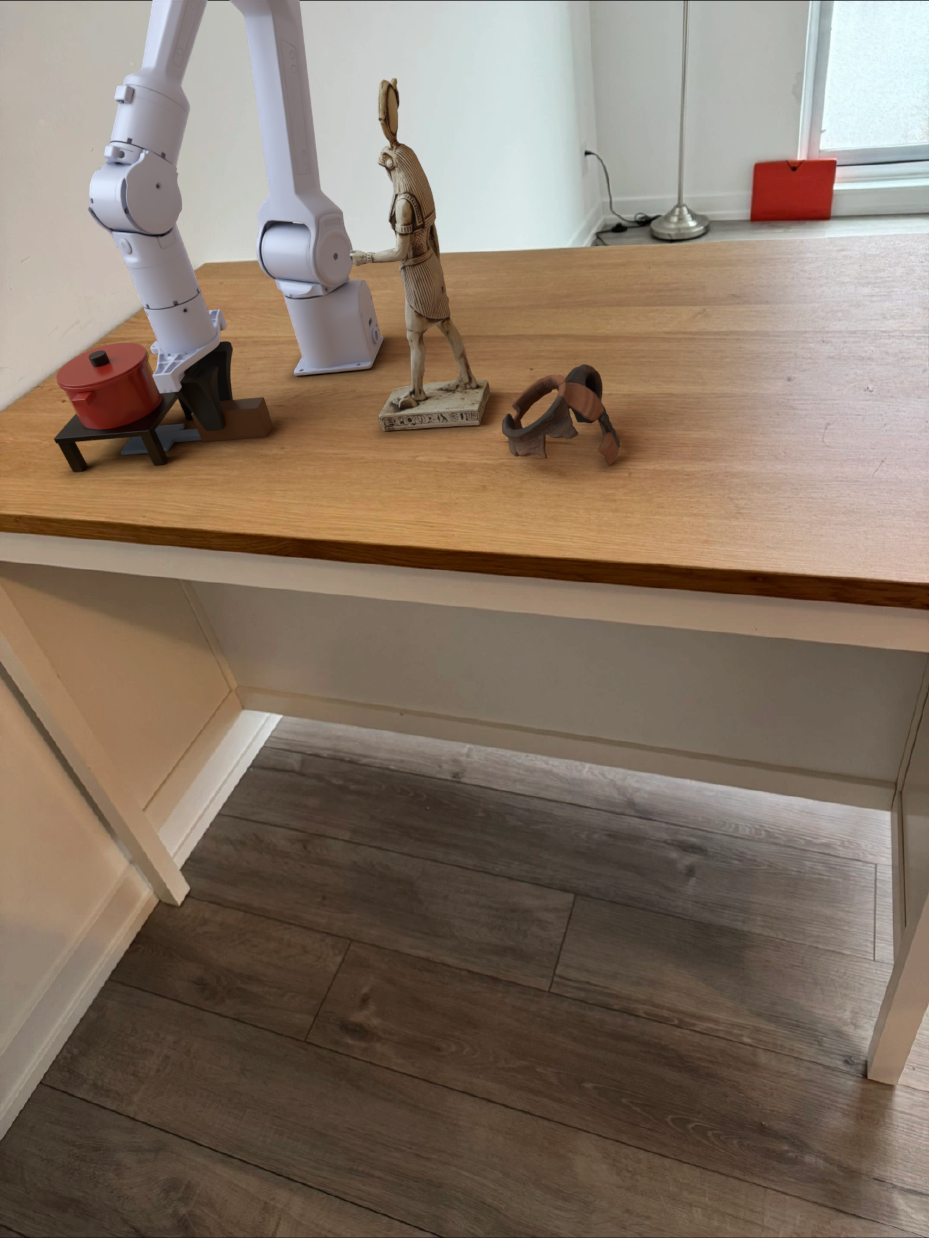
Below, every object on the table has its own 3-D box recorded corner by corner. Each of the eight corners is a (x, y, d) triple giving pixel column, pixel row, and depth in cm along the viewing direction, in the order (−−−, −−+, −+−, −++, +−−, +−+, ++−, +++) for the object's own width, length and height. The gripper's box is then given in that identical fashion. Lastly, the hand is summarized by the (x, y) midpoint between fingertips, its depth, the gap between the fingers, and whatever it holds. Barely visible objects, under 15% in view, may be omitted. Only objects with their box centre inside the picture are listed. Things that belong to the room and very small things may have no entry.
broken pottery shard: (612, 490, 76) (556, 426, 72) (532, 510, 83) (477, 453, 79) (648, 392, 81) (598, 327, 77) (570, 419, 88) (520, 360, 84)
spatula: (277, 418, 96) (267, 390, 93) (263, 443, 92) (253, 415, 90) (140, 430, 99) (128, 403, 97) (121, 455, 95) (108, 427, 93)
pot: (202, 409, 100) (167, 322, 93) (162, 469, 91) (120, 378, 84) (116, 417, 102) (76, 333, 96) (68, 476, 93) (20, 388, 87)
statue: (397, 397, 95) (323, 81, 75) (492, 391, 92) (441, 62, 72) (381, 432, 89) (297, 103, 70) (481, 427, 87) (423, 84, 67)
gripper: (162, 273, 91) (208, 391, 100) (103, 334, 80) (160, 460, 89) (225, 265, 89) (266, 386, 98) (173, 326, 79) (224, 455, 88)
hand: (220, 421), depth 94 cm, fingers closed on spatula, 2 cm apart
